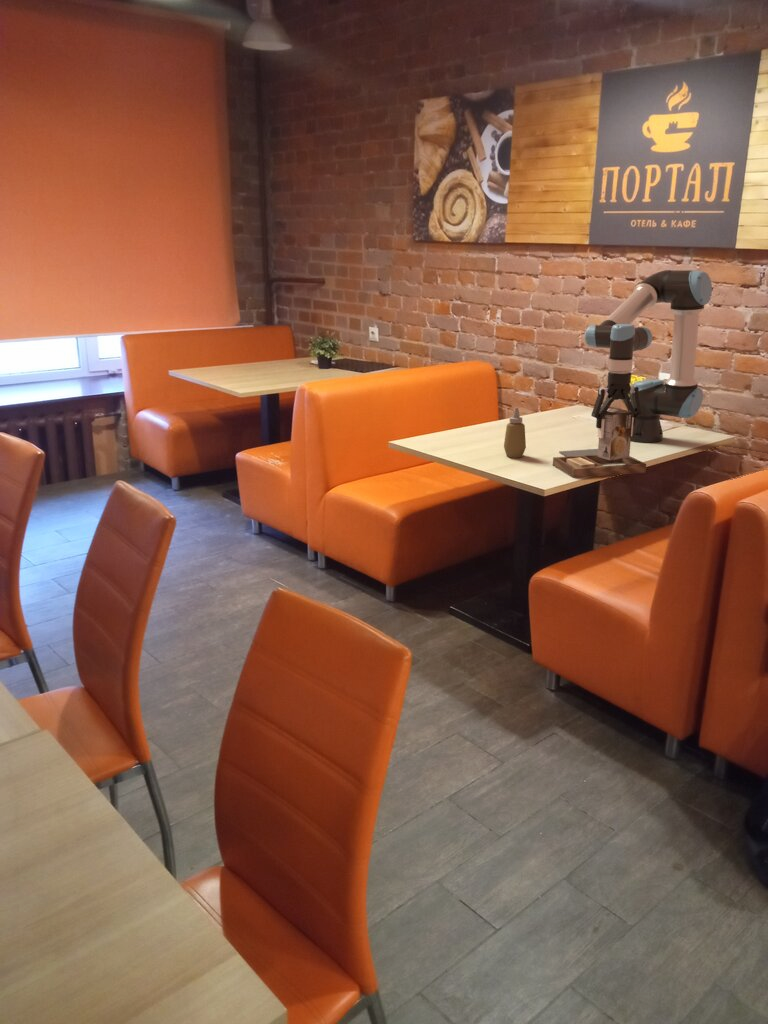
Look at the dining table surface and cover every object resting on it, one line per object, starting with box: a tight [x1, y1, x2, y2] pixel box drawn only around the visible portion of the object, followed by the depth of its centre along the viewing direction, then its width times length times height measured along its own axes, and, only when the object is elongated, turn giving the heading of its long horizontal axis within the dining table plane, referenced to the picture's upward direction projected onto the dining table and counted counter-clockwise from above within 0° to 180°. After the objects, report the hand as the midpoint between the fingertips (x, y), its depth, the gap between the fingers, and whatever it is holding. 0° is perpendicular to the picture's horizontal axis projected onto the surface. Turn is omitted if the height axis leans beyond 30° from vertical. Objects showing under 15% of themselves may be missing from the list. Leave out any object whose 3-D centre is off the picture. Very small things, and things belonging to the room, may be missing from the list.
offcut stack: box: [566, 458, 595, 468], centre depth 282 cm, size 6×10×4 cm, turn 20°
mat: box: [559, 448, 598, 457], centre depth 302 cm, size 18×13×1 cm
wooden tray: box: [552, 454, 647, 479], centre depth 284 cm, size 27×16×3 cm, turn 103°
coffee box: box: [597, 408, 633, 460], centre depth 282 cm, size 9×6×16 cm
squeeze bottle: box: [503, 407, 527, 459], centre depth 299 cm, size 8×8×18 cm
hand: (614, 436), depth 282 cm, fingers closed on coffee box, 10 cm apart
